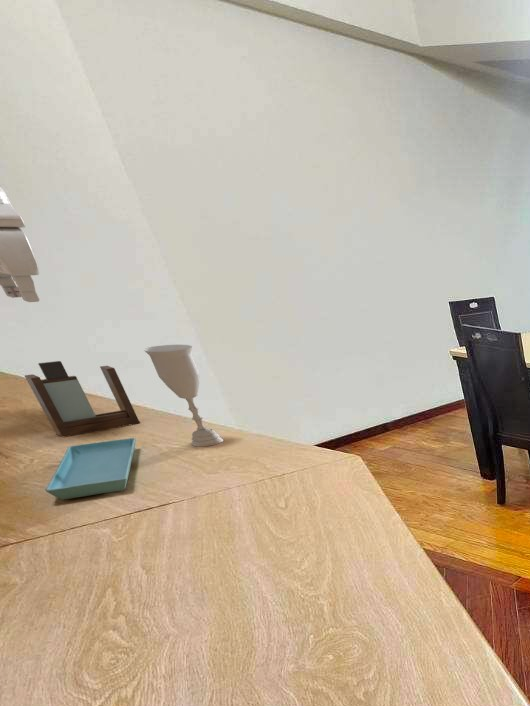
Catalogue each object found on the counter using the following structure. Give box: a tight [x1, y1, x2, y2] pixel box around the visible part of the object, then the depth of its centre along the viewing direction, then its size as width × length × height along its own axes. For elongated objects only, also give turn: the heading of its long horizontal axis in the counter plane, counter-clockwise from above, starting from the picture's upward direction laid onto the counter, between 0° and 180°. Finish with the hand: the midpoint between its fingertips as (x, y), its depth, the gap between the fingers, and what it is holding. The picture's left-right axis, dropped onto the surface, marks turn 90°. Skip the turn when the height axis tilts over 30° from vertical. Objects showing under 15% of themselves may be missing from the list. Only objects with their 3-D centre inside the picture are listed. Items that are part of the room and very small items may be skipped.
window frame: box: [24, 365, 141, 437], centre depth 119 cm, size 12×4×12 cm, turn 149°
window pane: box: [38, 360, 96, 422], centre depth 116 cm, size 5×1×12 cm, turn 149°
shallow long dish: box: [44, 437, 137, 500], centre depth 101 cm, size 26×9×2 cm, turn 39°
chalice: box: [143, 344, 224, 447], centre depth 113 cm, size 7×7×18 cm
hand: (23, 299), depth 110 cm, fingers open, 8 cm apart
